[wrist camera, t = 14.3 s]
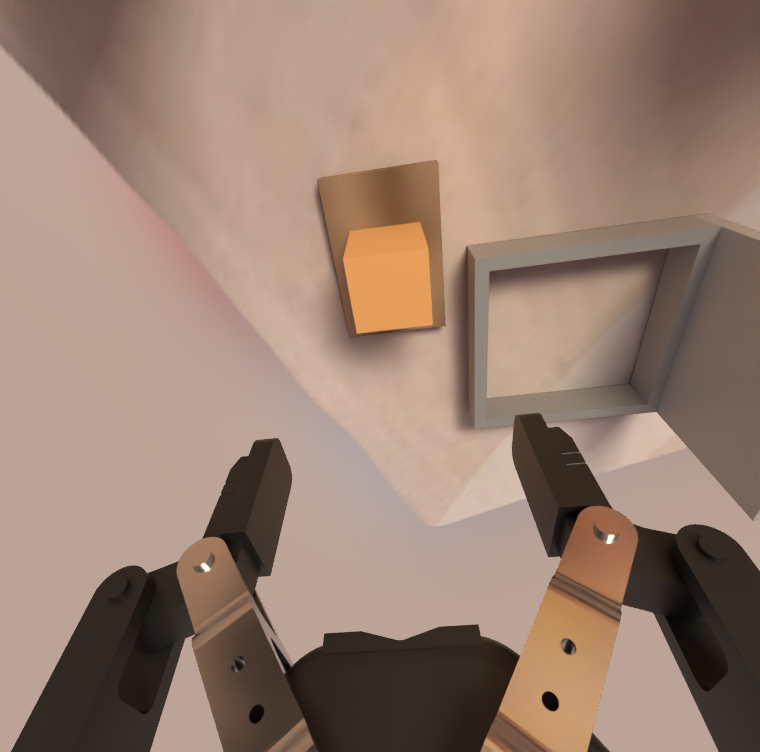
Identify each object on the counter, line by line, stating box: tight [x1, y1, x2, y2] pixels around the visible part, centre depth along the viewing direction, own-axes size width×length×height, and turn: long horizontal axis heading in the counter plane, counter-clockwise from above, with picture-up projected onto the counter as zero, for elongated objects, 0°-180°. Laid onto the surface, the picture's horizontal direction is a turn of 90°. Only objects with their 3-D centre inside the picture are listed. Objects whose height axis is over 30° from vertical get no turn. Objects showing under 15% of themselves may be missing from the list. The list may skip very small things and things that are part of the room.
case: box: [467, 214, 760, 521], centre depth 27 cm, size 17×16×14 cm
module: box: [343, 222, 433, 334], centre depth 27 cm, size 5×5×6 cm
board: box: [317, 160, 446, 337], centre depth 29 cm, size 8×12×1 cm, turn 8°
